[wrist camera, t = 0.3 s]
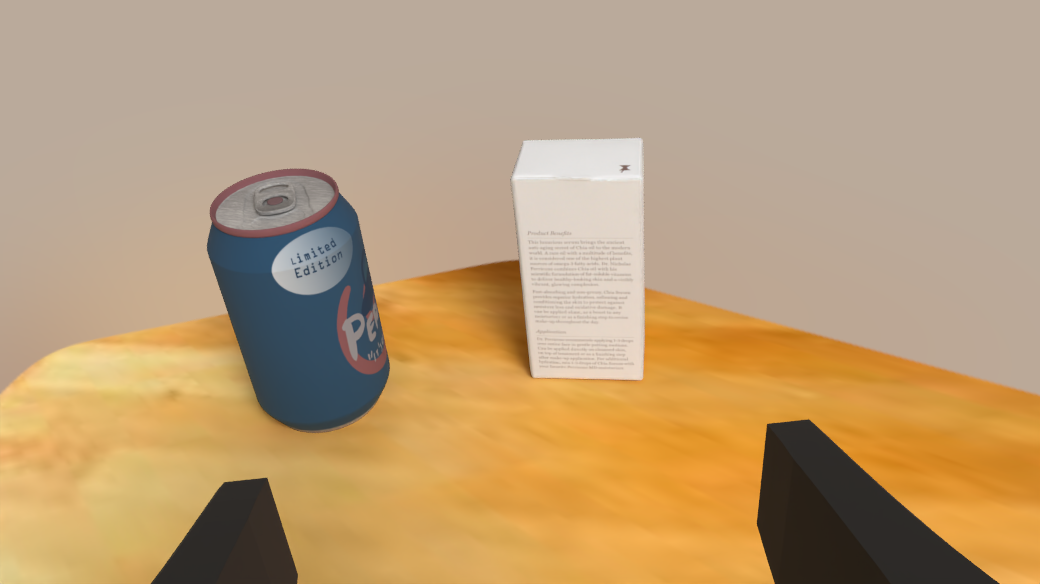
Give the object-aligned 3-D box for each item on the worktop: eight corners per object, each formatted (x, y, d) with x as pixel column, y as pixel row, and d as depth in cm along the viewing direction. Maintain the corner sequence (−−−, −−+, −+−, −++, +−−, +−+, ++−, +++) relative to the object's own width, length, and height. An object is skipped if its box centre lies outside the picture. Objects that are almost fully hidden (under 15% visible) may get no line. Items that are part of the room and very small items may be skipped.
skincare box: (645, 332, 48) (647, 135, 41) (643, 383, 44) (645, 178, 38) (537, 330, 49) (521, 137, 42) (527, 379, 45) (508, 178, 38)
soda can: (403, 422, 44) (360, 217, 37) (265, 457, 42) (193, 252, 35) (383, 342, 49) (341, 151, 42) (260, 371, 48) (196, 179, 41)
